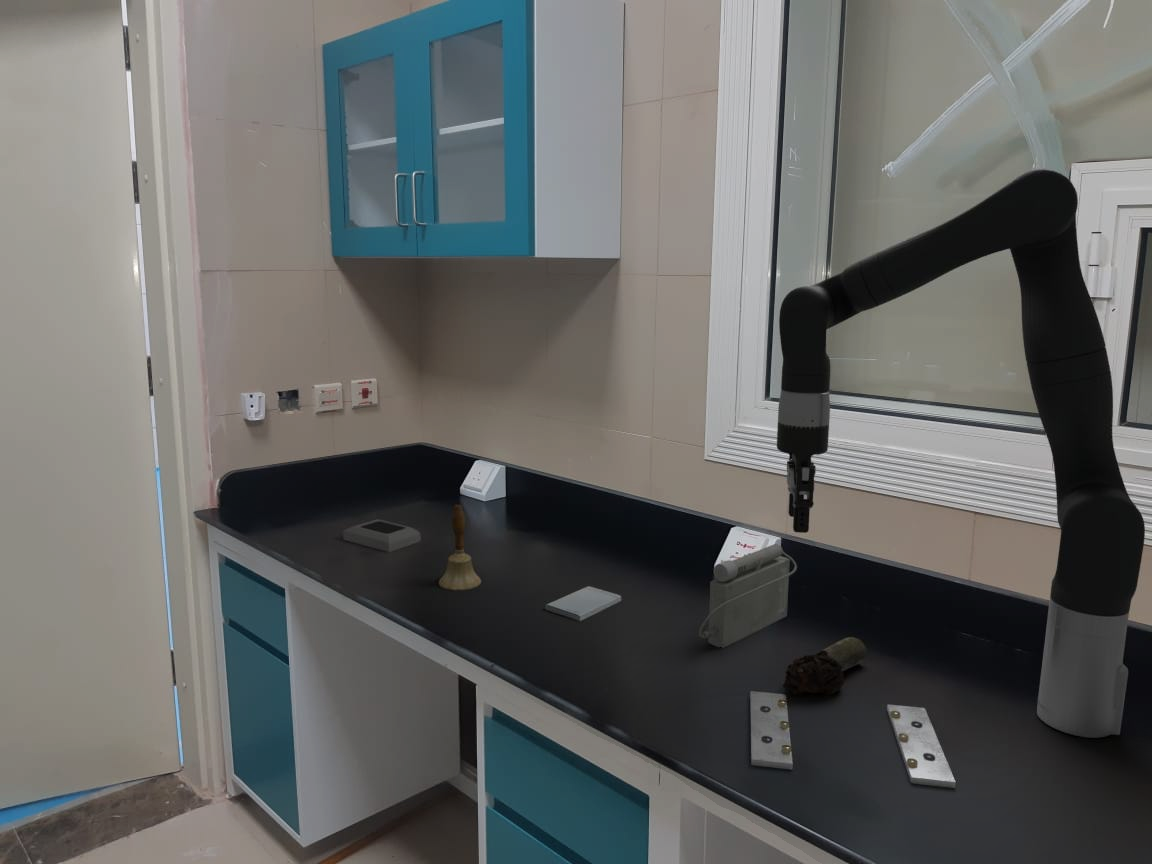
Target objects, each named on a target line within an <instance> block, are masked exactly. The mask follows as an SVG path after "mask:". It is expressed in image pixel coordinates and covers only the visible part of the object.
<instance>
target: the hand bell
mask: <svg viewBox="0 0 1152 864" xmlns="http://www.w3.org/2000/svg"><path fill="white" fill-rule="evenodd" d="M451 527H452V531H453V533H454V550H455V551H454V553H453V554H451V555H450V556H448V559H447V567H446V571H445V573H444V575H443V576H442V577H441V578H440V579H439V581H438V585H439V586H440V587H441V588H442V589H445V590H447V591H448V590H449V591H450V590H451V591H466V590H472V589H475V588H477V587H479V586H480V585H481V583H482V579H481V578H480V576H478V575H477V573H476V572H475V571H474V566H473V562H472V557H471V555H469V554H467V553H465V549H464V548H465V546H464V533H465V529H466V516H465V513H464V510H463V507H462V504H455V505H454V508H453V511H452V517H451Z"/></svg>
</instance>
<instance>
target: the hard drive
mask: <svg viewBox="0 0 1152 864" xmlns="http://www.w3.org/2000/svg"><path fill="white" fill-rule="evenodd" d="M621 601H622V596H621V595H620V594H617V593H614V592H610V591H606V590H604V589H600V588H596V587H594V586H589V585H588V586H585V587H583V588H581V589H579V590H576V591H574V592H572V593H569V594H567V595H566V596H563V597H560V598H558V599H556V600H554V601H552V602H549V603H547V604H545V608H544V609H545V610H546V611H549V612H552V613H555V614H558V615H561V616H563V617H566V618H571V619H572V620H576V621H579V622H581V621H583V620H585V619H587V618H590V617H591V616H593V615H595V614H598V613H601V612H602V611H604V610H606V609H607V608H609V607H612V606H614V605H616V604H618V603H619V602H621Z"/></svg>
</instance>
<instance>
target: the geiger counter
mask: <svg viewBox="0 0 1152 864" xmlns="http://www.w3.org/2000/svg"><path fill="white" fill-rule="evenodd" d="M782 555H783V556H782ZM784 556H785V557H784ZM790 562H792V564H793V565H794V567H793V569H792V571H790ZM797 569H798V565H797V563H796V561H795V560H794V558H792V557H791V556H790V555H788V554H787V553H786V552H784V549H783V547H782V546H781V545H780V544H778V543H774V544H772V545H769V546H766V547H763V548H761V549H759V550H756V551H753V552H752V553H751V552H750V553H747V554H746V555H743V556H741V557H739V558H736V559H733V560H730V559H728V560H724V561H722V562H720V563H717V564H715V566H714V567H713V575H714V578H715V579H713V580H712V581H710V582H709V583H710V584H709V585H710V586H709V612H708V613H709V614H708V615H707V617H706V618H705V619H704V621H703V622H702V624H701V625H700V626H699V631H698V637H700V638H702V639H704V640H705V639H708V644H710V645H712V646H714V647H717V648H720V647H722V648H721V649H724V647H725V648H726V646H727V647H729V646H730V644H731V645H732V643H733V644H734V643H737V642H738V641H740V640H742V639H744V638H746V637H748V636H751V635H752V634H754V633H756V632H759V631H760V630H762V629H764V628H766V627H768V626H770V625H773V624H774V623H776V622H778V621H780V620H783V619H784V618H786V617H787V615H788V602H789V601H788V597H789V595H788V594H789V579H790V576H792V575H793V574H795V572H797ZM707 623H708V629H706V630H705V631H703V629H704V628H705V626H706V625H707ZM702 631H703V632H702Z"/></svg>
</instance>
